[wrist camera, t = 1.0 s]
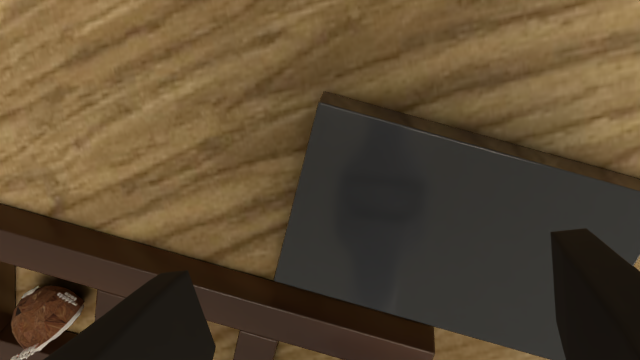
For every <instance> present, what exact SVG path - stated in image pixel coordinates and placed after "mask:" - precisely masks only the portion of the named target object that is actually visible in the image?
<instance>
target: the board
mask: <svg viewBox="0 0 640 360" xmlns="http://www.w3.org/2000/svg"><path fill="white" fill-rule="evenodd" d="M583 228H586V229H588V230H589V231H590V232H592V233H593V234H594V235H595V236H597V237H598V238H599V239H600V240H602V241H603V242H604V243H605V244H606V245H608V246H609V247H610V248H611V249H612V250H614V251H615V252H616V253H617V254H619V255H620V256H621V257H622V258H624V259H625V260H626V261H627V262H628V263H630V264H631V265H632V266H634V264H635V263H636V261H637V259H638V258H639V256H640V179H638V178H634V177H630V176H627V175H623V174H620V173H616V172H612V171H609V170H605V169H602V168H598V167H594V166H591V165H587V164H584V163H580V162H577V161H573V160H569V159H566V158H562V157H559V156H555V155H551V154H548V153H544V152H541V151H537V150H533V149H530V148H526V147H523V146H519V145H515V144H512V143H508V142H505V141H501V140H497V139H494V138H490V137H487V136H483V135H479V134H476V133H472V132H469V131H465V130H461V129H458V128H454V127H451V126H447V125H444V124H440V123H436V122H433V121H429V120H426V119H422V118H418V117H415V116H411V115H408V114H404V113H400V112H397V111H393V110H390V109H386V108H382V107H379V106H375V105H372V104H368V103H364V102H361V101H357V100H354V99H350V98H346V97H343V96H339V95H336V94H332V93H329V92H323V93H322V95H321V98H320V100H319V102H318V106H317V110H316V114H315V118H314V122H313V126H312V130H311V134H310V138H309V142H308V146H307V150H306V153H305V157H304V161H303V165H302V169H301V173H300V177H299V181H298V185H297V189H296V193H295V197H294V201H293V205H292V209H291V213H290V217H289V221H288V225H287V229H286V233H285V237H284V241H283V245H282V249H281V253H280V257H279V261H278V264H277V268H276V272H275V276H274V281H275V282H279V283H283V284H286V285H290V286H293V287H297V288H300V289H304V290H307V291H311V292H314V293H318V294H321V295H325V296H328V297H332V298H335V299H339V300H342V301H346V302H349V303H353V304H356V305H360V306H363V307H367V308H371V309H374V310H378V311H381V312H385V313H388V314H392V315H395V316H399V317H402V318H406V319H409V320H413V321H416V322H420V323H423V324H427V325H430V326H434V327H437V328H441V329H444V330H448V331H451V332H455V333H459V334H462V335H466V336H469V337H473V338H476V339H480V340H483V341H487V342H490V343H494V344H497V345H501V346H504V347H508V348H511V349H515V350H518V351H522V352H525V353H529V354H532V355H536V356H539V357H543V358H547V359H550V360H566V358H565V354H564V351H563V347H562V343H561V339H560V335H559V331H558V327H557V323H556V313H555V296H554V280H553V264H552V248H551V232H554V231H564V230H573V229H583Z"/></svg>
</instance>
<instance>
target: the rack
mask: <svg viewBox="0 0 640 360" xmlns="http://www.w3.org/2000/svg"><path fill="white" fill-rule="evenodd" d="M15 266H19V267H22V268H26V269H29V270H32V271H36V272H39V273H43V274H46V275H50V276H53V277H57V278H60V279H64V280H67V281H71V282H74V283H78V284H81V285H85V286H88V287H92V288H95V289H98V290H97V300H96V313H95V321H96V320H98V319H99V318H100V317H102V316H103V315H104V314H106V313H107V312H108V311H109V310H111V309H112V308H113V307H115V306H116V305H117V304H118V303H120V302H121V301H122V300H124V299H125V298H126V297H128V296H129V295H130V294H132V293H133V292H134V291H136V290H137V289H138V288H140V287H141V286H142V285H144V284H145V283H146V282H148V281H149V280H151V279H152V278H154V277H156V276H157V275H159V274H160V273H165V272H174V271H184V270H188V272H189V275H190V277H191V280H192V283H193V286H194V288H195V291H196V294H197V297H198V299H199V302H200V305H201V308H202V310H203V313H204V316H205V319H206V320H207V321H211V322H214V323H218V324H221V325H225V326H228V327H232V328H235V329H239V330H240V332H239V336H238V340H237V345H236V349H235V353H234V358H233V360H274V356H275V353H276V349H277V345H278V342H279V341H281V342H284V343H288V344H291V345H295V346H298V347H302V348H305V349H309V350H312V351H316V352H319V353H323V354H326V355H330V356H333V357H337V358H340V359H344V360H433V357H434V355H435V342H434V327H432V326H428V325H425V324H421V323H417V322H414V321H410V320H407V319H403V318H400V317H396V316H393V315H389V314H386V313H382V312H379V311H375V310H372V309H368V308H365V307H361V306H358V305H354V304H351V303H347V302H344V301H340V300H337V299H333V298H330V297H326V296H322V295H319V294H315V293H312V292H308V291H305V290H301V289H298V288H294V287H291V286H287V285H284V284H280V283H277V282H273V281H270V280H266V279H263V278H259V277H256V276H252V275H249V274H245V273H242V272H238V271H234V270H231V269H227V268H224V267H220V266H217V265H213V264H210V263H206V262H203V261H199V260H196V259H192V258H189V257H185V256H182V255H178V254H175V253H171V252H168V251H164V250H161V249H157V248H154V247H150V246H146V245H143V244H139V243H136V242H132V241H129V240H125V239H122V238H118V237H115V236H111V235H108V234H104V233H101V232H97V231H94V230H90V229H87V228H83V227H80V226H76V225H73V224H69V223H66V222H62V221H58V220H55V219H51V218H48V217H44V216H41V215H37V214H34V213H30V212H27V211H23V210H20V209H16V208H13V207H9V206H6V205H2V204H0V360H10V359H11V358H12V357H13V356H16V355H17V354H20V353H21V352H22V351H23V350H24V349H23V347H22V346H21V345H20V344H19V343H18V342H17V340H16V338H15V336H14V334H13V333H12V327H11V321H12V316H13V312H14V310H15ZM75 336H77V334H74V333H70V332H67V331H64V332H63V333H62V334H61V335H60V336H58V337H57V338H56V339H54V340H52V341H51V342H49V343H48V344H47V345H46V346H45V347H43V348H42V350H40V351H36V352H34V354H33V355H30V356H29V357H28V358H27V359H26V357H25V358H23V359H22V360H43V359H45V358H46V357H48V356H49V355H50V354H52V353H53V352H55V351H56V350H57V349H59V348H60V347H61V346H63V345H64V344H66V343H67V342H68V341H70V340H71V339H73V338H74V337H75ZM26 354H27V353H26ZM26 354H25V355H26ZM22 356H23V355H22ZM17 358H18V357H16V359H17ZM19 358H20V357H19ZM20 360H21V359H20Z"/></svg>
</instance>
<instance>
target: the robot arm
mask: <svg viewBox="0 0 640 360" xmlns="http://www.w3.org/2000/svg"><path fill="white" fill-rule="evenodd" d="M551 248H552V264H553V280H554V296H555V313H556V323H557V327H558V331H559V335H560V339H561V343H562V347H563V351H564V354H565V358H566V360H640V271H639V270H637V269H636V268H635V267H634V266H632V265H631V264H630V263H628V262H627V261H626V260H625V259H624V258H622V257H621V256H620V255H619V254H617V253H616V252H615V251H614V250H612V249H611V248H610V247H609V246H608V245H606V244H605V243H604V242H603V241H602V240H600V239H599V238H598V237H597V236H595V235H594V234H593V233H592V232H590V231H589V230H588V229H586V228H583V229H573V230H564V231H554V232H551ZM215 347H216V346H215V343H214V341H213V338H212V335H211V332H210V330H209V327H208V324H207V321H206V319H205V316H204V313H203V310H202V308H201V305H200V302H199V299H198V297H197V294H196V291H195V288H194V286H193V283H192V280H191V277H190V275H189V272H188V270H184V271H174V272H165V273H160V274H159V275H157V276H156V277H154V278H152V279H151V280H149V281H148V282H146V283H145V284H144V285H142V286H141V287H140V288H138V289H137V290H136V291H134V292H133V293H132V294H130V295H129V296H128V297H126V298H125V299H124V300H122V301H121V302H120V303H118V304H117V305H116V306H115V307H113V308H112V309H111V310H109V311H108V312H107V313H106V314H104V315H103V316H102V317H100V318H99V319H98V320H96V321H95V322H94V323H93V324H91V325H90V326H89V327H87V328H86V329H85V330H83V331H82V332H81V333H79V334H78V335H77V336H75V337H74V338H73V339H71V340H70V341H68V342H67V343H66V344H64V345H63V346H61V347H60V348H59V349H57V350H56V351H55V352H53V353H52V354H50V355H49V356H48V357H46V358H45V359H43V360H213V356H214V351H215Z"/></svg>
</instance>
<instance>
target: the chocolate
mask: <svg viewBox="0 0 640 360" xmlns="http://www.w3.org/2000/svg"><path fill="white" fill-rule="evenodd" d="M38 287H39V286H37V287H35V288H34V290H33V289H31V290H30V291H28V292H26V293H25V294H24V295H23V296H22V298H23V299H21V301H20V302H19V304H18V305H17V307H16V308H15V310H14V312H13V316H12V321H11V327H12V333H13V334H14V336H15V338H16V340H17V342H18V343H19V344H20V345H21V346H22V347H23V349H24V350H23V351H22V352H21V353H20V354H17V355H16V356H13V357H12V358H11V359H10V360H20V359H21V360H22V359H23V358H25V357H26V359H27V358H28V357H29V356H30V355H33V354H34V352H36V351H40V350H42V348H43V347H45V346H46V345H47V344H48V343H49V342H51V341H52V340H54V339H56V338H57V337H58V336H60V335H61V334H62V333H63V332H64V331H65V330H66V329H67V328H68V327H70V326H71V325H72V324H73V322H74V321H75V320H76V318H77V317H78V316H80V313H81V311H82V309H83V308H84V305H83V303H84V301H83V300H82V299H81V298H80V297H78V296H77V295H76V294H74V293H73V292H72V291H70V290H68V289H66V288H64V287H59V286H43V287H40V288H38ZM37 288H38V289H37ZM26 294H27V296H26ZM26 353H27V354H26ZM25 354H26V355H25ZM22 355H23V356H22ZM16 357H18V358H17V359H16ZM19 357H20V358H19Z"/></svg>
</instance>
